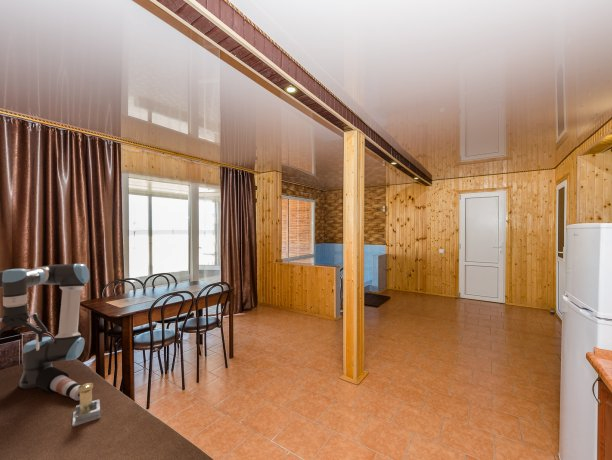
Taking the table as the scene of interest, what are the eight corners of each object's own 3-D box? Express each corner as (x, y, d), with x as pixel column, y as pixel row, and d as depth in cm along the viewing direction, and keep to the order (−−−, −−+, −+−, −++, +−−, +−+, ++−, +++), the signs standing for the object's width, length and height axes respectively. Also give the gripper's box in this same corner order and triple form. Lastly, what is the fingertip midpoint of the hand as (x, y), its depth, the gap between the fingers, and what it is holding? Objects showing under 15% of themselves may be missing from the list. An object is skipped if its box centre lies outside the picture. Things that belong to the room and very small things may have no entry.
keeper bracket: (73, 413, 138) (73, 406, 138) (99, 405, 144) (99, 398, 143) (72, 426, 129) (72, 419, 129) (100, 417, 135) (100, 410, 135)
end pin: (78, 413, 137) (78, 385, 136) (93, 408, 140) (93, 381, 140) (78, 419, 132) (77, 391, 132) (93, 415, 135) (93, 387, 135)
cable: (82, 412, 145) (72, 400, 140) (41, 390, 158) (31, 379, 153) (101, 394, 153) (92, 382, 148) (61, 374, 166) (52, 362, 161)
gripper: (-30, 312, 118) (-29, 364, 119) (52, 302, 133) (53, 349, 133) (-24, 307, 124) (-23, 357, 125) (54, 298, 139) (55, 343, 140)
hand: (16, 353), depth 129 cm, fingers open, 13 cm apart
